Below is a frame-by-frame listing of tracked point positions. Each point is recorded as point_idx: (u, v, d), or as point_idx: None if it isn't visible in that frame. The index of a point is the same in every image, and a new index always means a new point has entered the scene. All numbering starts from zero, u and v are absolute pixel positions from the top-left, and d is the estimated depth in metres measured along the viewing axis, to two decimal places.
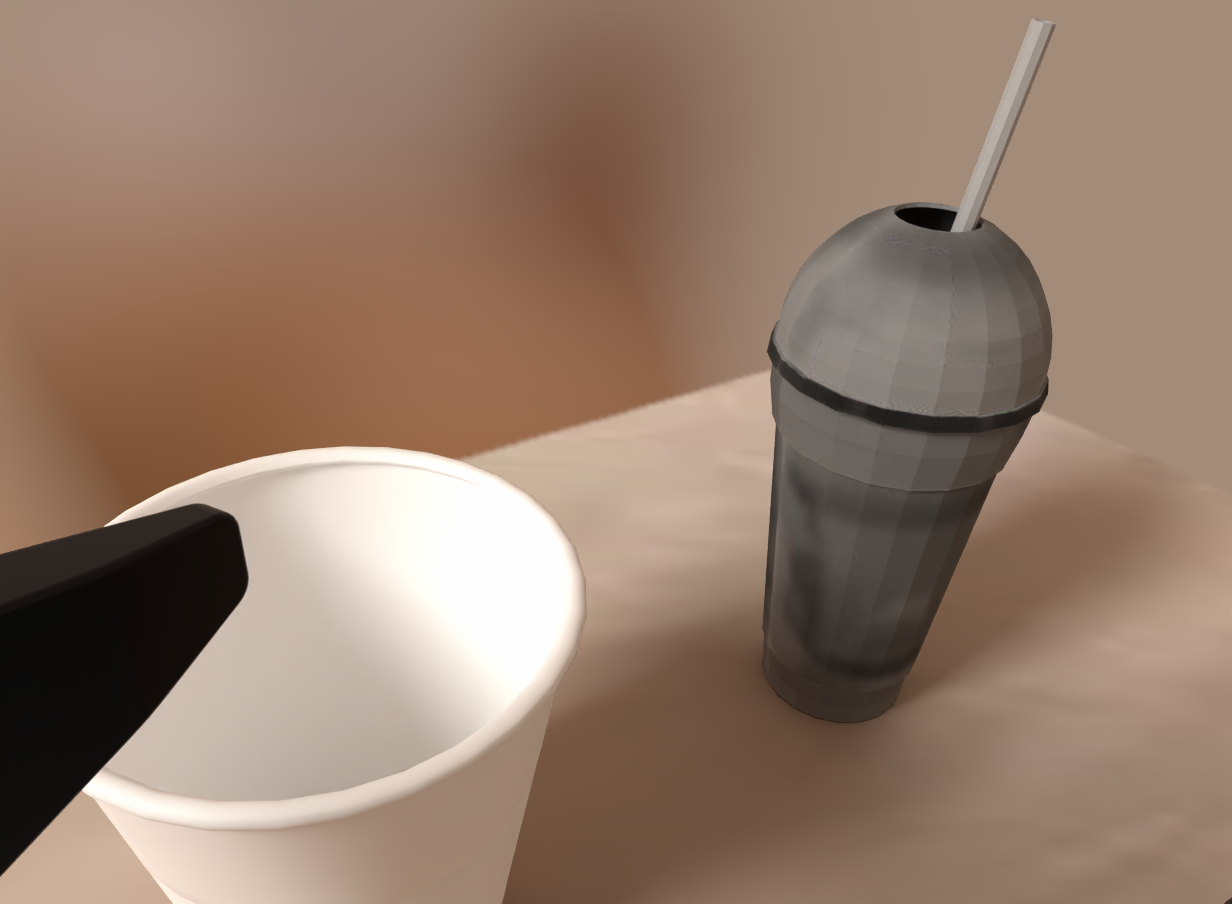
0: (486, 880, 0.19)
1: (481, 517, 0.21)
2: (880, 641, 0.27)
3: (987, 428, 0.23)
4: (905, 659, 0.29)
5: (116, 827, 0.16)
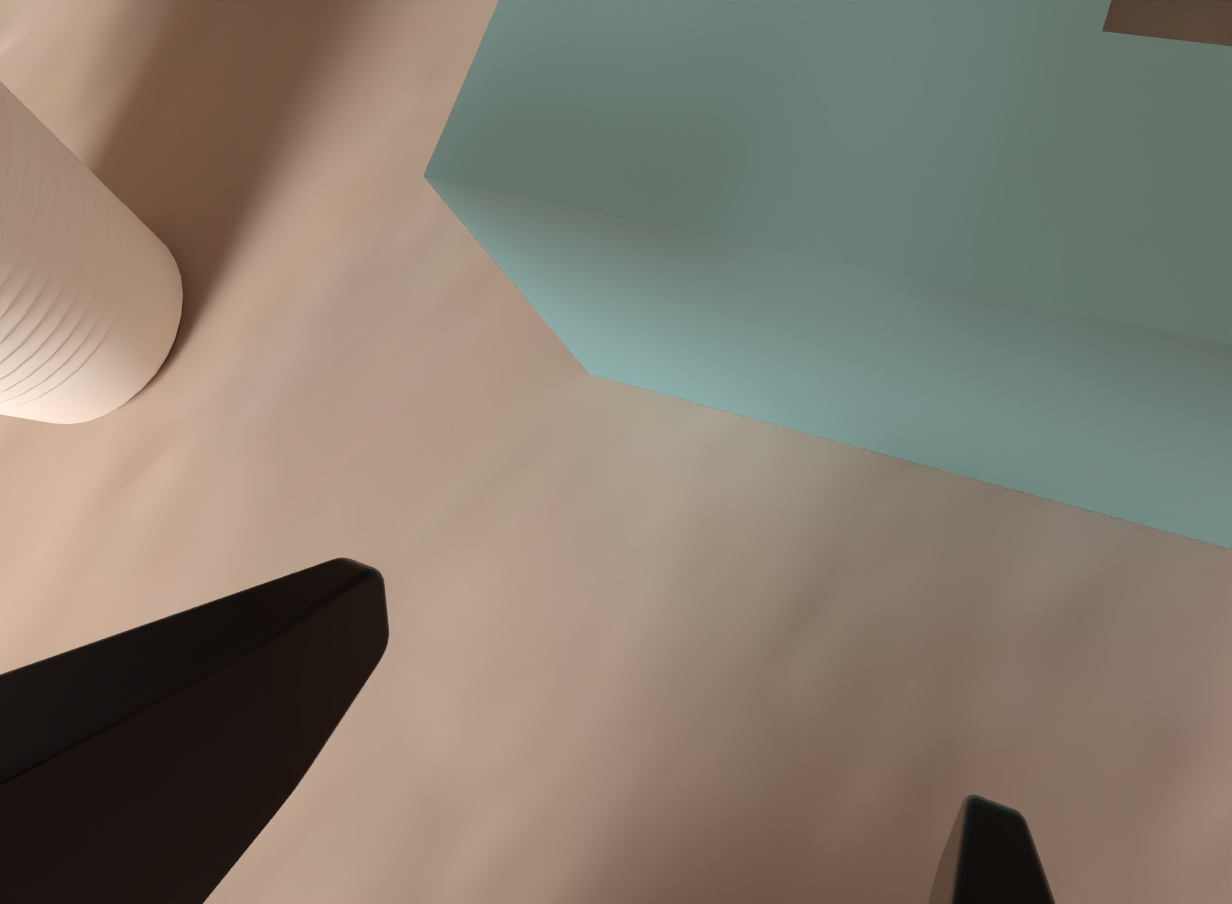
0: (62, 216, 0.22)
1: None
2: None
3: None
4: None
5: None
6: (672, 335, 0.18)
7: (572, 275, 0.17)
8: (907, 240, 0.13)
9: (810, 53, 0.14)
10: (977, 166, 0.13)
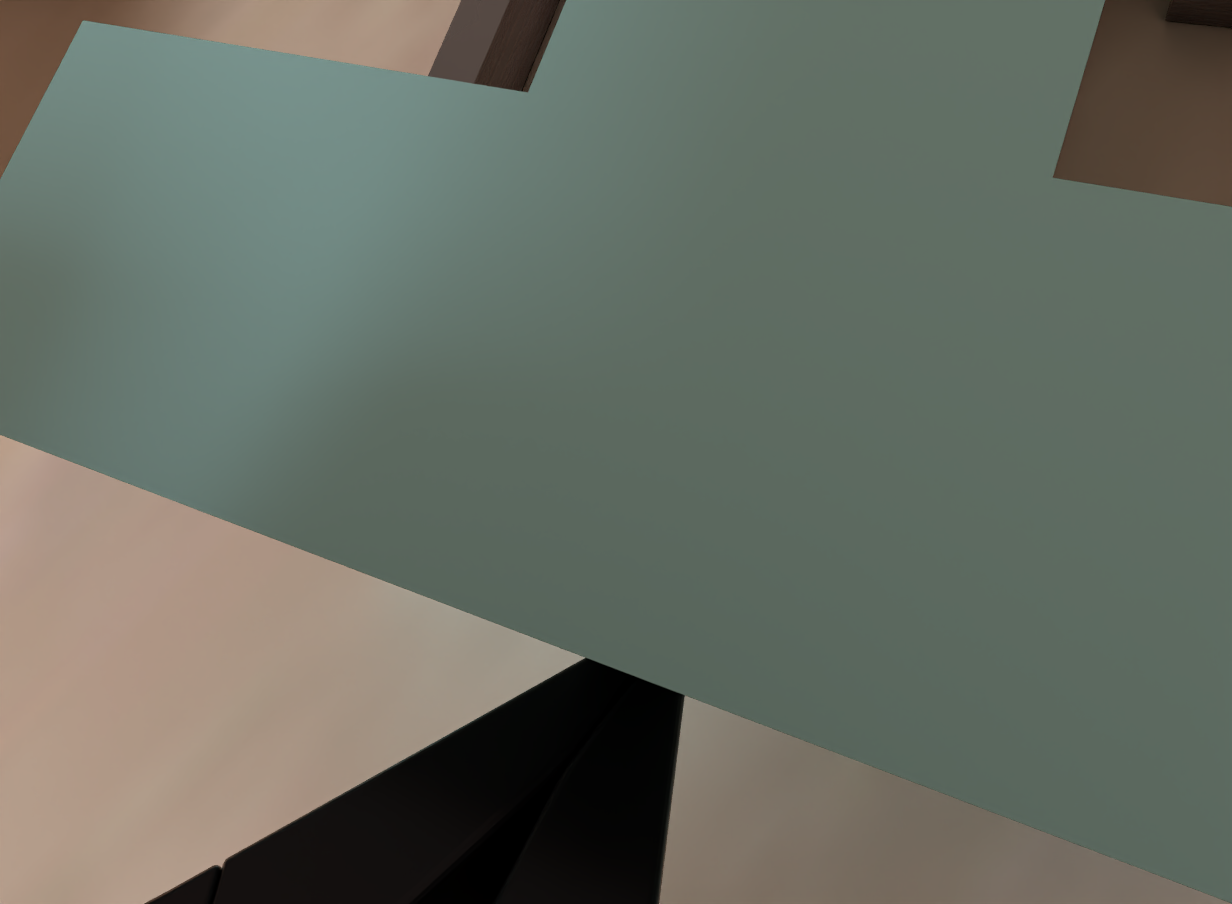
0: None
1: None
2: None
3: None
4: None
5: None
6: None
7: None
8: (663, 600, 0.06)
9: (518, 199, 0.07)
10: (802, 450, 0.06)
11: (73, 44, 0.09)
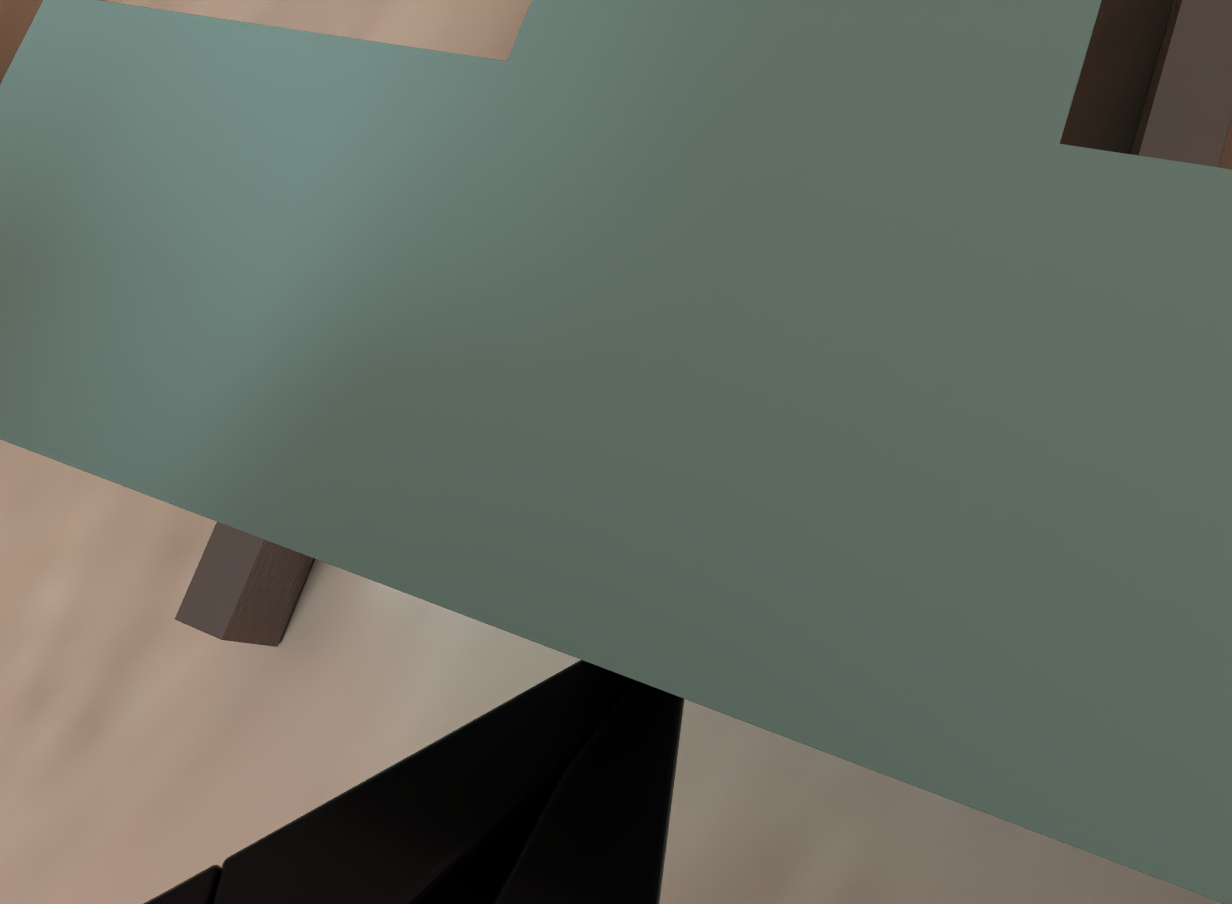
0: None
1: None
2: None
3: None
4: None
5: None
6: None
7: None
8: (648, 593, 0.06)
9: (497, 173, 0.07)
10: (794, 435, 0.06)
11: (39, 18, 0.09)
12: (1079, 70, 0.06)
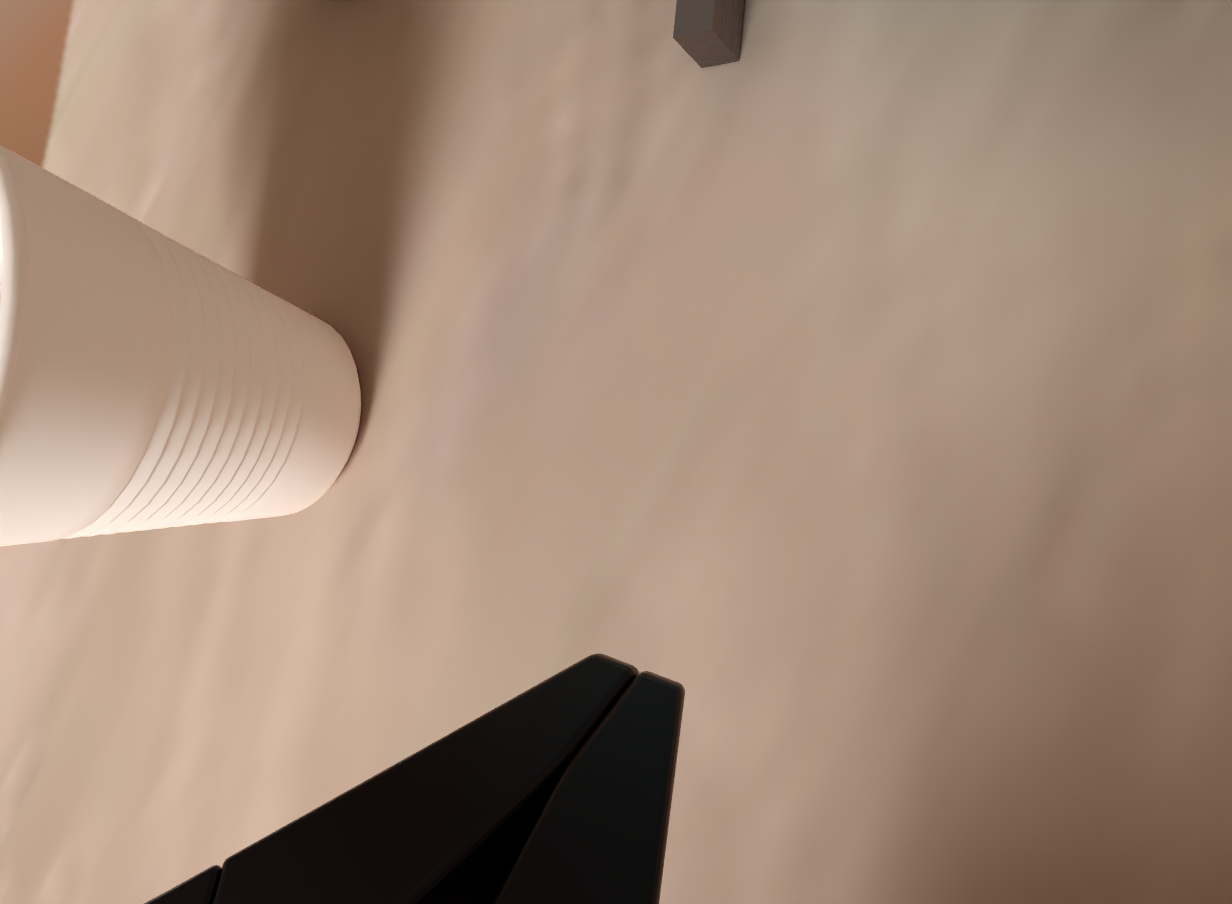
0: (228, 328, 0.23)
1: None
2: None
3: None
4: None
5: None
6: None
7: None
8: None
9: None
10: None
11: None
12: None
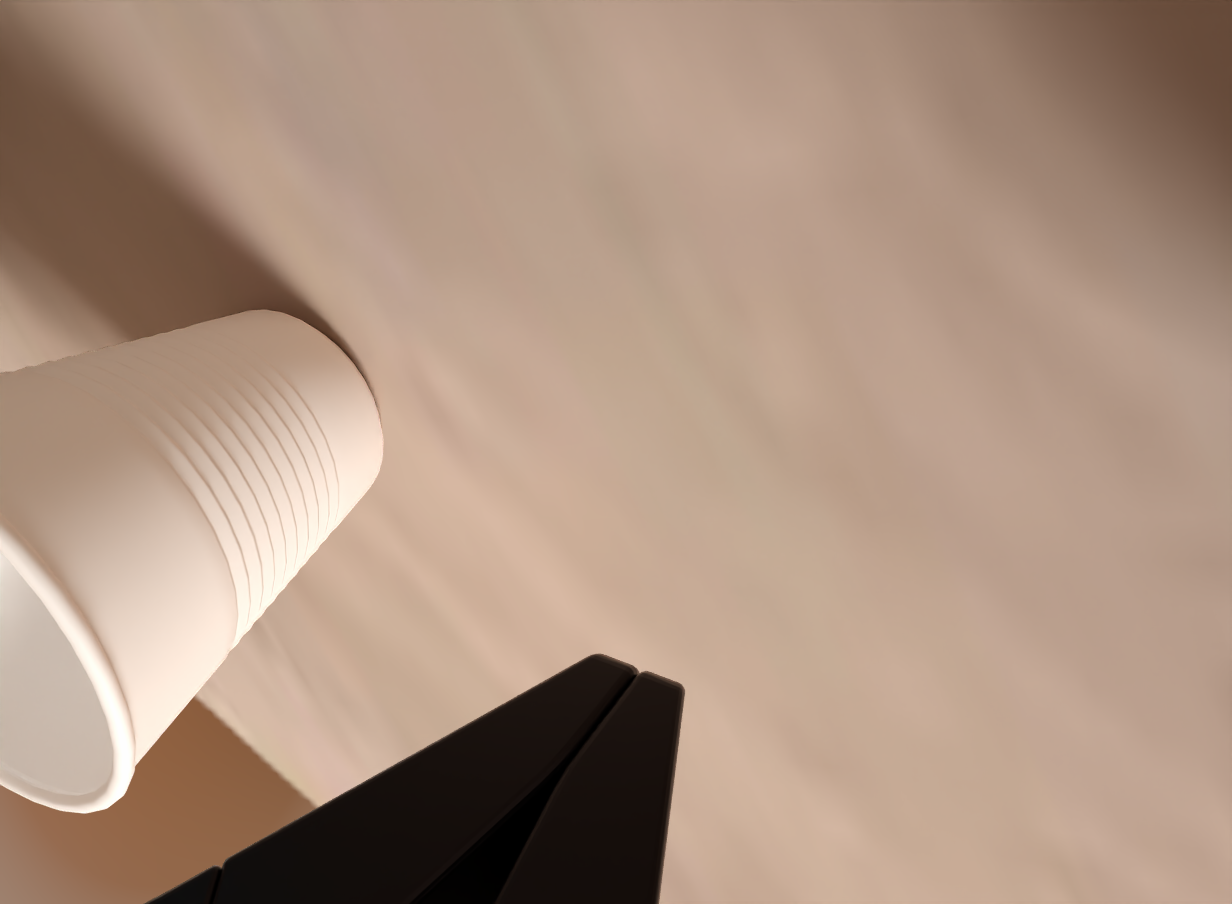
0: (143, 365, 0.22)
1: None
2: None
3: None
4: None
5: (191, 668, 0.20)
6: None
7: None
8: None
9: None
10: None
11: None
12: None
